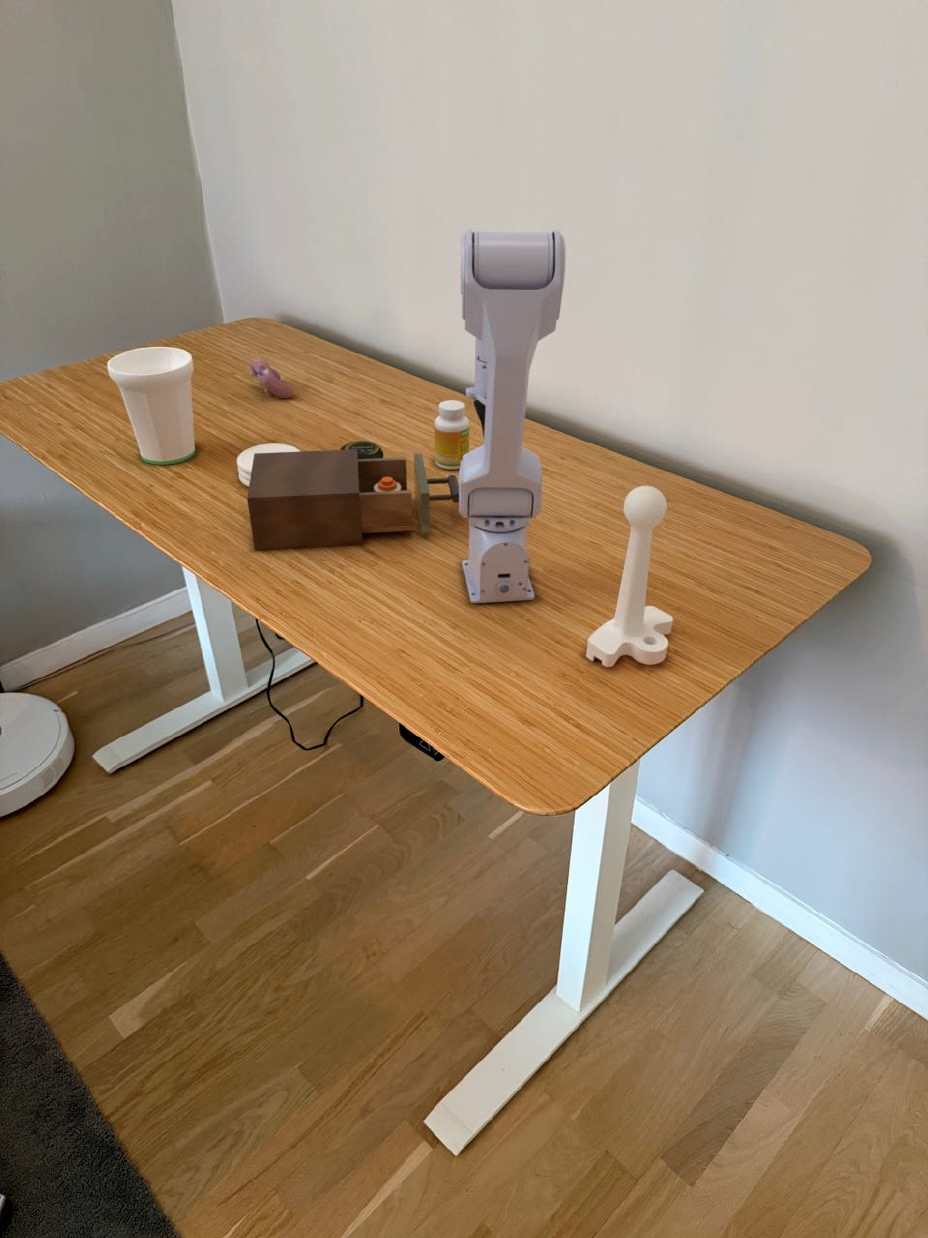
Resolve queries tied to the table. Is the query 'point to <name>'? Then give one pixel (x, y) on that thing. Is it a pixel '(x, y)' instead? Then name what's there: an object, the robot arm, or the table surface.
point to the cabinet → (305, 499)
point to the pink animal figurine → (270, 379)
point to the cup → (157, 401)
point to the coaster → (248, 455)
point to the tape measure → (365, 449)
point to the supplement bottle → (451, 435)
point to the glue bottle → (387, 485)
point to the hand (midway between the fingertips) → (494, 453)
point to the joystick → (635, 592)
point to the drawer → (397, 495)
